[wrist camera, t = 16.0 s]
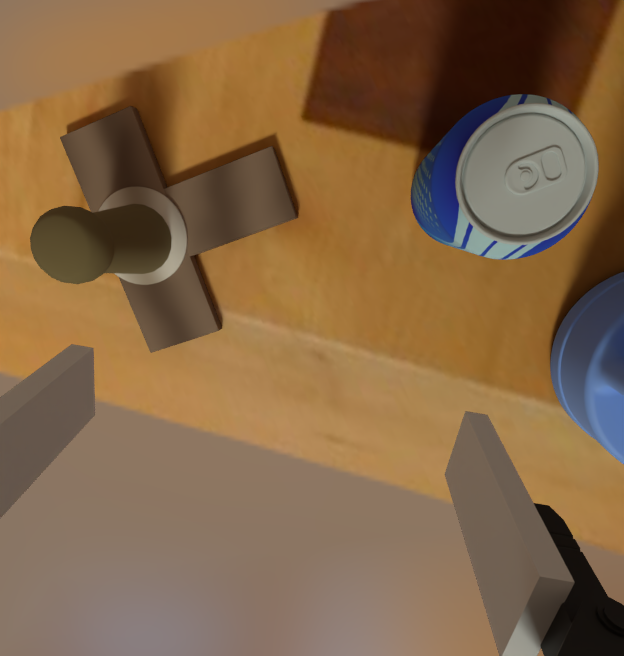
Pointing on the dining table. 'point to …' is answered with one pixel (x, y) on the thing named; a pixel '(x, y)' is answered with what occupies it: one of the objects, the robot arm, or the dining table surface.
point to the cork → (100, 242)
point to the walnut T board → (176, 217)
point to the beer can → (507, 178)
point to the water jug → (594, 364)
